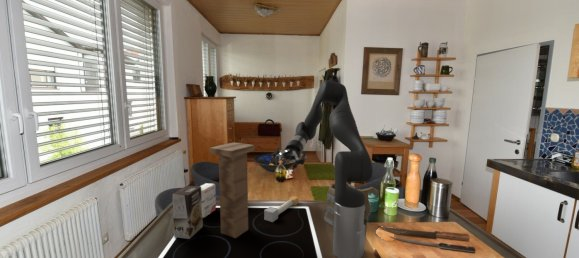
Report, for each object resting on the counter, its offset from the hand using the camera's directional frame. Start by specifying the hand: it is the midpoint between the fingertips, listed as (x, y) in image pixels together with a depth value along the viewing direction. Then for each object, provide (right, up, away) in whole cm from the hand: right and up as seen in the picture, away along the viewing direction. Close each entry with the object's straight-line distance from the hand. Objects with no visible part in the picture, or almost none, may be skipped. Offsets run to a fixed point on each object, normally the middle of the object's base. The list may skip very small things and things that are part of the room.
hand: (283, 165), depth 111 cm
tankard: (+27, -22, -5) cm, 35 cm away
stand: (-18, -23, -13) cm, 32 cm away
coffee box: (-35, -23, -14) cm, 44 cm away
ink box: (-33, -21, +2) cm, 39 cm away
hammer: (-1, -20, +3) cm, 21 cm away
